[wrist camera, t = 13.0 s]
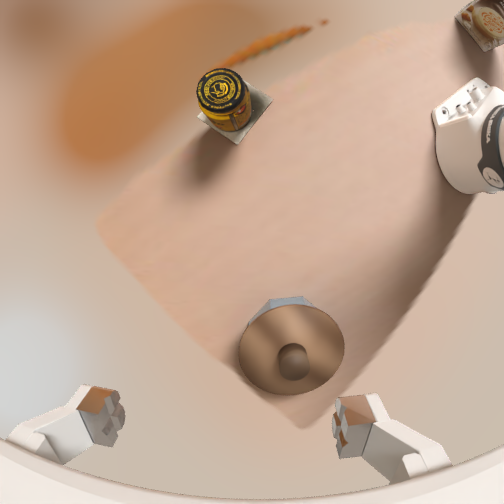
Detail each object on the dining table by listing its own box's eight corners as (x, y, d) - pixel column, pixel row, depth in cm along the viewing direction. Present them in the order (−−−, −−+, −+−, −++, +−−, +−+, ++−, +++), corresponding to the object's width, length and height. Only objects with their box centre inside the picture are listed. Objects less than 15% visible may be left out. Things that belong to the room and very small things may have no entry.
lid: (287, 282, 40) (290, 294, 36) (363, 342, 42) (372, 357, 38) (218, 357, 43) (214, 374, 39) (294, 405, 45) (296, 423, 41)
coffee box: (452, 17, 34) (499, -15, 19) (464, 6, 33) (508, -24, 18) (484, 53, 36) (536, 31, 20) (494, 41, 34) (542, 19, 19)
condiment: (196, 117, 41) (175, 97, 29) (232, 73, 39) (223, 39, 28) (237, 145, 42) (230, 132, 30) (273, 100, 40) (278, 72, 29)
